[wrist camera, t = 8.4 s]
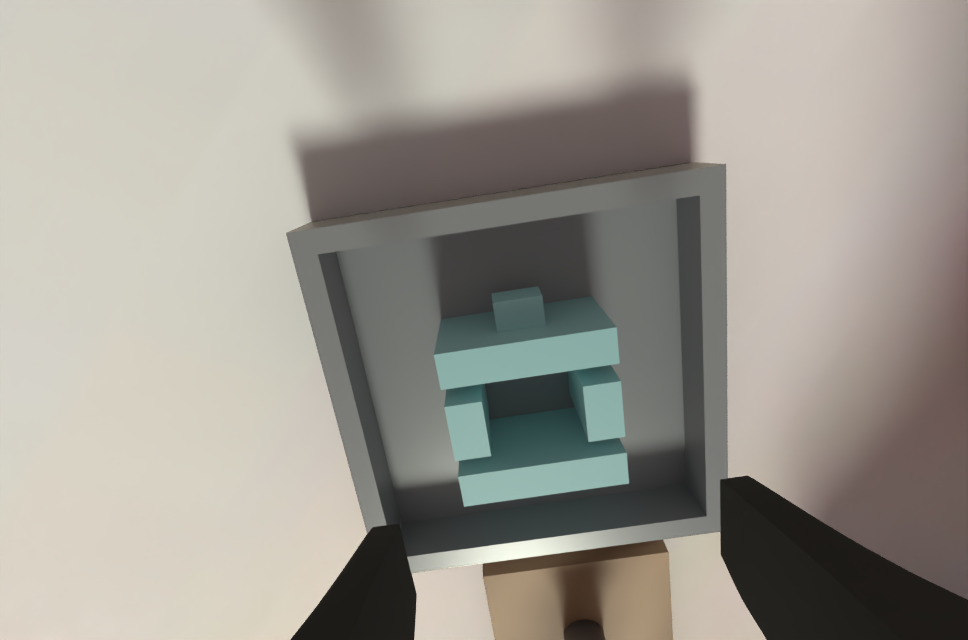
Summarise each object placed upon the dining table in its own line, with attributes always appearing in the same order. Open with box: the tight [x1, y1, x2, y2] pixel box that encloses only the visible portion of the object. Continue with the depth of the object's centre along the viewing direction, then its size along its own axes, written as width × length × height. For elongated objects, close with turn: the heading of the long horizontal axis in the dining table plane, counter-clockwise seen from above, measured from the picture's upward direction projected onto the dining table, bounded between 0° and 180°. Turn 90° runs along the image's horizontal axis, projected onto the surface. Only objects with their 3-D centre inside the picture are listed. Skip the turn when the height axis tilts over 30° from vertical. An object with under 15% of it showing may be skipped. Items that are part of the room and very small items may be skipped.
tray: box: [286, 162, 728, 573], centre depth 19 cm, size 14×14×3 cm
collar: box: [434, 286, 629, 507], centre depth 18 cm, size 6×7×4 cm
